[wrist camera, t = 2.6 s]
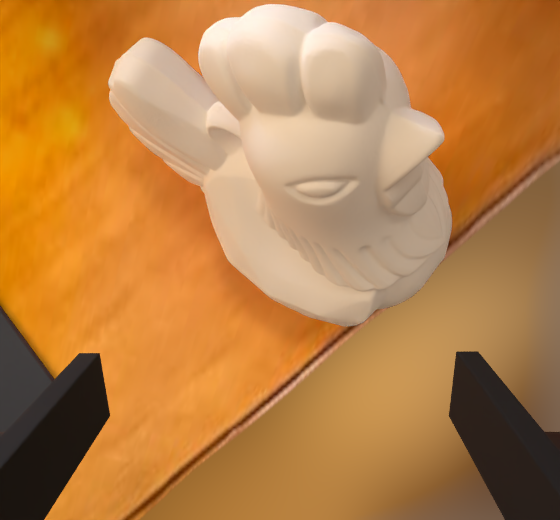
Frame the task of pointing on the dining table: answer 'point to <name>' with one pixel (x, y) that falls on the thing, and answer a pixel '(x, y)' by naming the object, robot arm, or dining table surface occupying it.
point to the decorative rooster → (298, 157)
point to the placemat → (18, 373)
